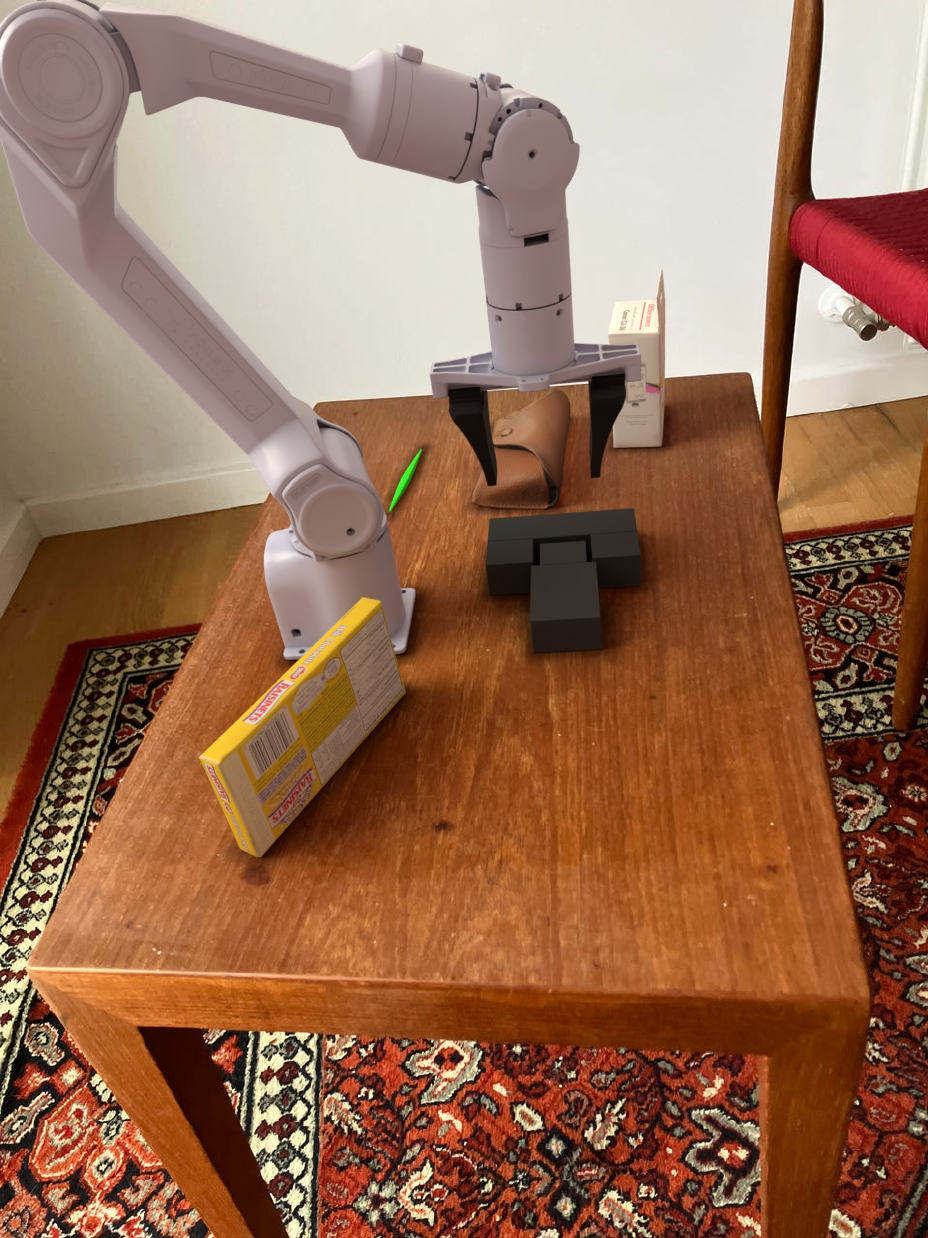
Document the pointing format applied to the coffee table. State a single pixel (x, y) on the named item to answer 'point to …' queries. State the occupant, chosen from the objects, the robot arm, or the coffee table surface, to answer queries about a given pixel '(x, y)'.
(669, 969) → the coffee table surface
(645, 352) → the ink cartridge box
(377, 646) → the candy box
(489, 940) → the coffee table surface
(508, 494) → the sunglasses case
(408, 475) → the green spindle
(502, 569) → the notch pad
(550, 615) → the pad
